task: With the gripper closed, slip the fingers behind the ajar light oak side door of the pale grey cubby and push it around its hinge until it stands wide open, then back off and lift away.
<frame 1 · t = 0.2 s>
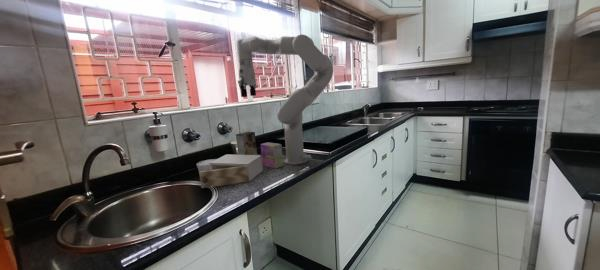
hand: (248, 96, 138), 37 cm above the worktop, tool pointing down, fingers open, 9 cm apart
door: (224, 177, 110), point 4 cm above the worktop, hinge at 30.0°
box: (272, 166, 134), on the worktop
ramekin: (209, 172, 131), on the worktop
coffee box: (248, 160, 147), on the worktop
cubby: (238, 174, 124), on the worktop
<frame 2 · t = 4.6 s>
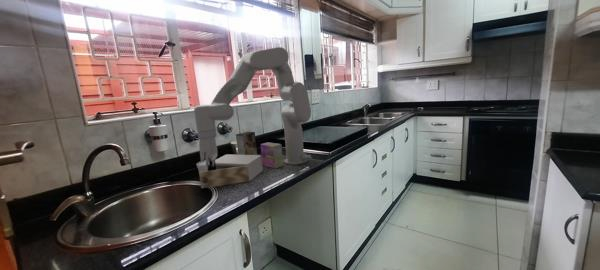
hand: (212, 174, 112), 5 cm above the worktop, tool pointing down, fingers closed
door: (224, 177, 110), point 4 cm above the worktop, hinge at 30.8°, touching gripper
everything else where it was.
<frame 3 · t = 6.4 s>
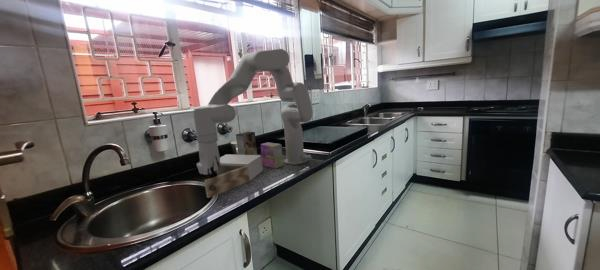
hand: (213, 182, 103), 5 cm above the worktop, tool pointing down, fingers closed
door: (229, 181, 105), point 4 cm above the worktop, hinge at 66.5°, touching gripper
everything else where it was.
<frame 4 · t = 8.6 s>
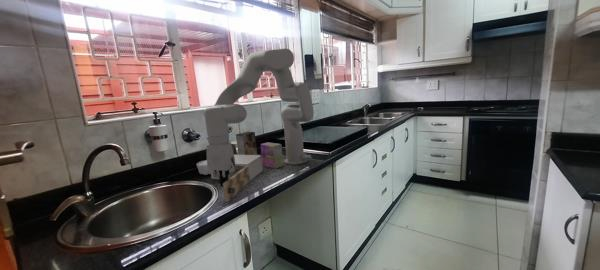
hand: (224, 185, 99), 5 cm above the worktop, tool pointing down, fingers closed
door: (239, 182, 103), point 4 cm above the worktop, hinge at 94.4°, touching gripper
everything else where it was.
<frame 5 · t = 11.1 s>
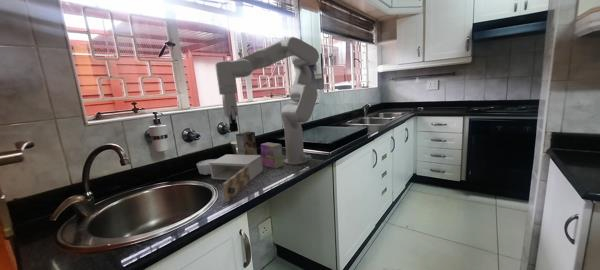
hand: (234, 131, 115), 22 cm above the worktop, tool pointing down, fingers closed
door: (239, 182, 103), point 4 cm above the worktop, hinge at 94.5°
everything else where it was.
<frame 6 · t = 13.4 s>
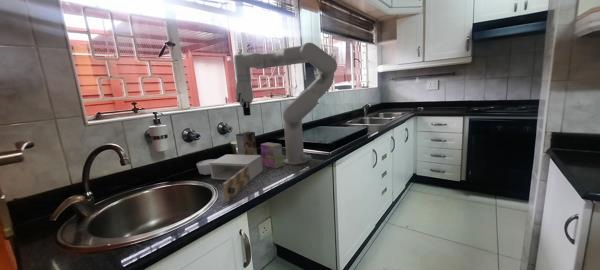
hand: (247, 115, 132), 27 cm above the worktop, tool pointing down, fingers closed
nothing on the worktop moved.
at the end: door at +94° (first picture: +30°); ramekin moved 0.3 cm from its start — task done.
